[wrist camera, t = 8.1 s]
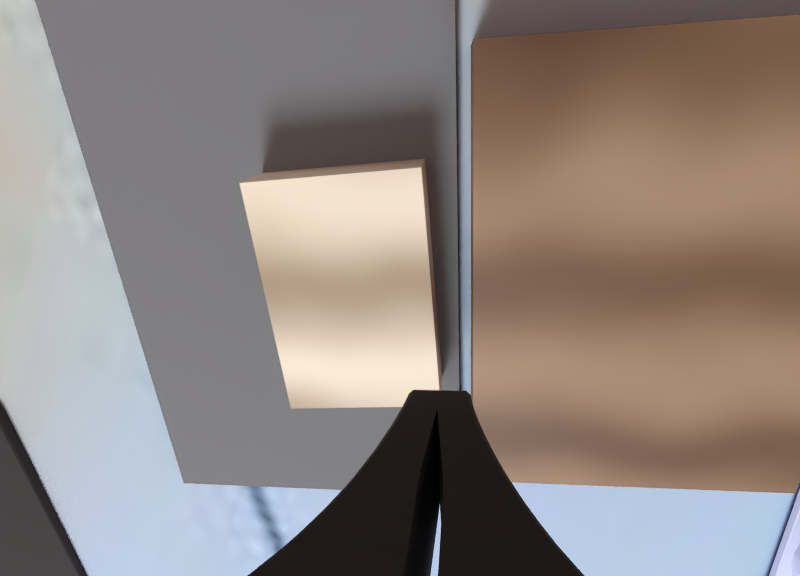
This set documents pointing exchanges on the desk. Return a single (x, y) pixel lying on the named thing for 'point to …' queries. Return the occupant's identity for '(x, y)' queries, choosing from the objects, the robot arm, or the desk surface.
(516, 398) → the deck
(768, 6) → the desk surface
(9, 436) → the phone
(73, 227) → the desk surface
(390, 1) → the mat
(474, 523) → the robot arm
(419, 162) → the tile
